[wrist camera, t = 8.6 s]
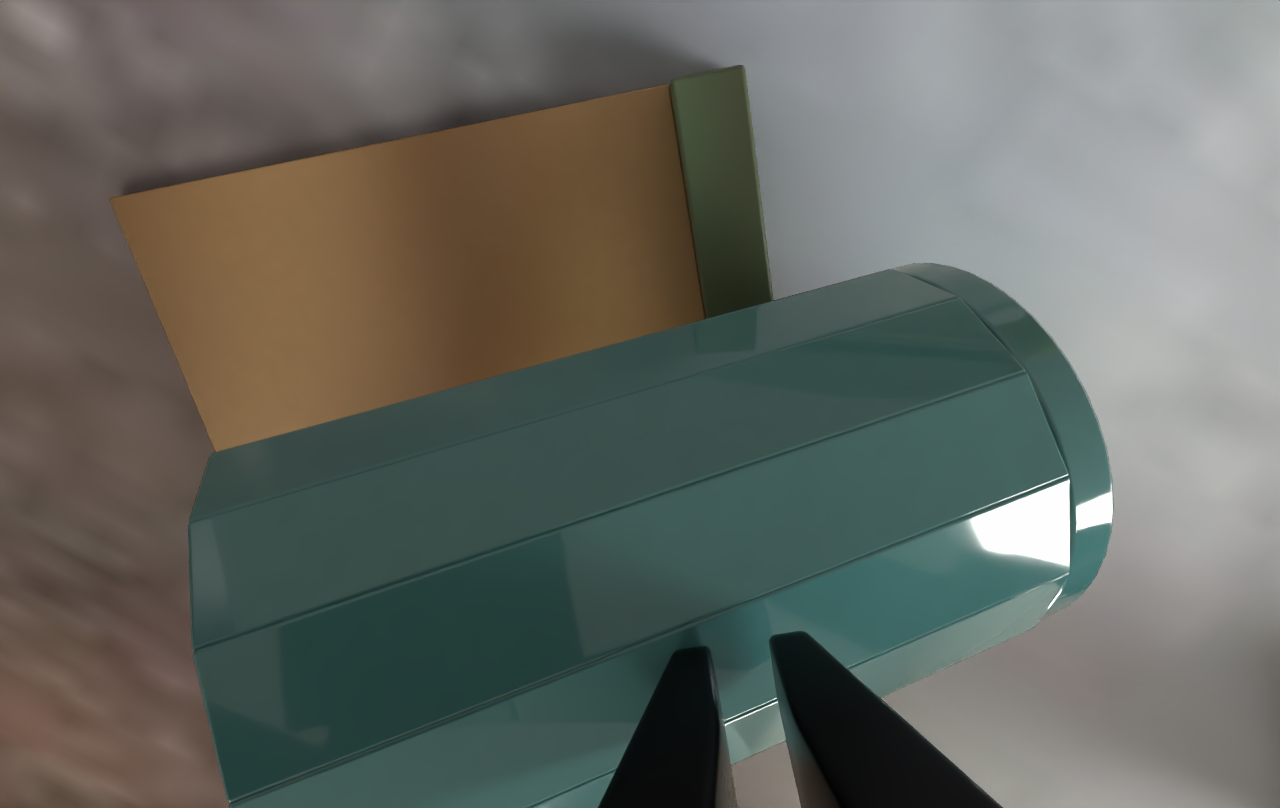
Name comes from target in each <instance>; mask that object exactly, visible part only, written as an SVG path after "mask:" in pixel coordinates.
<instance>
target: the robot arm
mask: <svg viewBox="0 0 1280 808" xmlns="http://www.w3.org/2000/svg"><path fill="white" fill-rule="evenodd" d="M769 648H770V654H771V661H772V668H773V674H774V681H775V687H776V694H777V700H778V705H779V710H780V715H781V719H782V724H783V728H784V733H785V737H786V741H787V746H788V750H789V755H790V759H791V764H792V768H793V772H794V777H795V781H796V786H797V790H798V795H799V799H800V803H801V808H1003V807H1002V806H1000V805H999V804H998V803H997V802H996V801H995V800H994V799H993V798H991V797H990V796H989V795H988V794H987V793H986V792H985V791H984V790H983V789H981V788H980V787H979V786H978V785H977V784H976V783H975V782H974V781H972V780H971V779H970V778H969V777H968V776H967V775H966V774H965V773H964V772H962V771H961V770H960V769H959V768H958V767H957V766H956V765H955V764H953V763H952V762H951V761H950V760H949V759H948V758H947V757H946V756H945V755H943V754H942V753H941V752H940V751H939V750H938V749H937V748H936V747H934V746H933V745H932V744H931V743H930V742H929V741H928V740H927V739H926V738H924V737H923V736H922V735H921V734H920V733H919V732H918V731H917V730H915V729H914V728H913V727H912V726H911V725H910V724H909V723H908V722H907V721H905V720H904V719H903V718H902V717H901V716H900V715H899V714H898V713H896V712H895V711H894V710H893V709H892V708H891V707H890V706H889V705H888V704H886V703H885V702H884V701H883V700H882V699H881V698H880V697H879V696H877V695H876V694H875V693H874V692H873V691H872V690H871V689H870V688H869V687H867V686H866V685H865V684H864V683H863V682H862V681H861V680H860V679H858V678H857V677H856V676H855V675H854V674H853V673H852V672H851V671H850V670H848V669H847V668H846V667H845V666H844V665H843V664H842V663H841V662H839V661H838V660H837V659H836V658H835V657H834V656H833V655H832V654H831V653H829V652H828V651H827V650H826V649H825V648H824V647H823V646H822V645H820V644H819V643H818V642H817V641H816V640H815V639H814V638H813V637H812V636H810V635H809V634H808V633H807V632H804V631H795V632H789V633H782V634H776V635H772V636H771V637H770V640H769ZM598 808H738V806H737V800H736V794H735V787H734V781H733V775H732V769H731V763H730V756H729V750H728V744H727V738H726V731H725V725H724V719H723V713H722V707H721V702H720V696H719V691H718V686H717V680H716V675H715V670H714V664H713V659H712V654H711V651H710V649H709V648H708V647H707V646H698V647H692V648H685V649H679V650H676V651H675V652H674V653H673V654H672V655H671V657H670V659H669V662H668V664H667V666H666V668H665V670H664V672H663V674H662V676H661V678H660V680H659V682H658V684H657V686H656V688H655V690H654V693H653V695H652V697H651V699H650V701H649V703H648V705H647V707H646V709H645V711H644V713H643V715H642V717H641V719H640V721H639V724H638V726H637V728H636V730H635V732H634V734H633V736H632V738H631V740H630V742H629V744H628V746H627V748H626V750H625V752H624V755H623V757H622V759H621V761H620V763H619V765H618V767H617V769H616V771H615V773H614V775H613V777H612V779H611V781H610V784H609V786H608V788H607V790H606V792H605V794H604V796H603V798H602V800H601V802H600V804H599V806H598Z"/></svg>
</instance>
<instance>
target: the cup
mask: <svg viewBox="0 0 1280 808" xmlns="http://www.w3.org/2000/svg"><path fill="white" fill-rule="evenodd" d="M1113 509H1114V502H1113V483H1112V474H1111V469H1110V463H1109V458H1108V452H1107V448H1106V444H1105V441H1104V438H1103V435H1102V431H1101V428H1100V425H1099V421H1098V418H1097V416H1096V414H1095V411H1094V409H1093V407H1092V404H1091V402H1090V400H1089V397H1088V395H1087V393H1086V390H1085V389H1084V387H1083V385H1082V383H1081V381H1080V380H1079V378H1078V376H1077V374H1076V373H1075V371H1074V369H1073V367H1072V365H1071V364H1070V362H1069V361H1068V359H1067V358H1066V356H1065V355H1064V354H1063V352H1062V351H1061V349H1060V348H1059V347H1058V345H1057V344H1056V342H1055V341H1054V339H1053V338H1052V337H1051V336H1050V335H1049V334H1048V332H1047V331H1046V330H1045V329H1044V328H1043V327H1042V326H1041V325H1040V323H1039V322H1038V321H1037V320H1036V319H1035V318H1034V317H1033V316H1032V315H1031V314H1030V313H1029V312H1028V311H1027V310H1026V309H1025V308H1023V307H1022V306H1021V305H1020V304H1019V303H1018V302H1017V301H1016V300H1015V299H1013V298H1012V297H1011V296H1009V295H1008V294H1006V293H1005V292H1003V291H1002V290H1001V289H999V288H998V287H996V286H995V285H993V284H992V283H990V282H988V281H986V280H984V279H982V278H980V277H978V276H976V275H974V274H972V273H970V272H967V271H964V270H961V269H958V268H955V267H951V266H946V265H940V264H934V263H913V264H909V265H904V266H900V267H896V268H892V269H888V270H884V271H880V272H877V273H873V274H869V275H866V276H862V277H858V278H855V279H851V280H847V281H843V282H840V283H836V284H832V285H829V286H825V287H821V288H818V289H814V290H810V291H807V292H803V293H799V294H796V295H792V296H788V297H785V298H781V299H777V300H774V301H770V302H766V303H762V304H759V305H755V306H751V307H748V308H744V309H740V310H737V311H733V312H729V313H726V314H722V315H718V316H715V317H711V318H707V319H704V320H700V321H696V322H693V323H689V324H685V325H681V326H678V327H674V328H670V329H667V330H663V331H659V332H656V333H652V334H648V335H645V336H641V337H637V338H634V339H630V340H626V341H623V342H619V343H615V344H612V345H608V346H604V347H601V348H597V349H593V350H589V351H586V352H582V353H578V354H575V355H571V356H567V357H564V358H560V359H556V360H553V361H549V362H545V363H542V364H538V365H534V366H531V367H527V368H523V369H520V370H516V371H512V372H508V373H505V374H501V375H497V376H494V377H490V378H486V379H483V380H479V381H475V382H472V383H468V384H464V385H461V386H457V387H453V388H450V389H446V390H442V391H439V392H435V393H431V394H427V395H424V396H420V397H416V398H413V399H409V400H405V401H402V402H398V403H394V404H391V405H387V406H383V407H380V408H376V409H372V410H369V411H365V412H361V413H358V414H354V415H350V416H346V417H343V418H339V419H335V420H332V421H328V422H324V423H321V424H317V425H313V426H310V427H306V428H302V429H299V430H295V431H291V432H288V433H284V434H280V435H277V436H273V437H269V438H265V439H262V440H258V441H254V442H251V443H247V444H243V445H240V446H236V447H232V448H229V449H225V450H221V451H218V452H214V453H212V454H211V456H210V457H209V459H208V462H207V465H206V468H205V471H204V474H203V477H202V481H201V484H200V487H199V490H198V493H197V496H196V499H195V502H194V505H193V508H192V511H191V514H190V517H189V525H188V539H189V573H190V606H191V640H192V650H193V651H194V652H193V659H194V663H195V668H196V672H197V676H198V680H199V685H200V689H201V693H202V697H203V701H204V706H205V710H206V714H207V718H208V723H209V727H210V731H211V735H212V739H213V744H214V748H215V752H216V756H217V761H218V765H219V769H220V773H221V777H222V782H223V786H224V790H225V794H226V799H227V801H228V802H230V803H229V807H230V808H598V806H599V804H600V802H601V800H602V798H603V796H604V794H605V792H606V790H607V788H608V786H609V784H610V781H611V779H612V777H613V775H614V773H615V771H616V769H617V767H618V765H619V763H620V761H621V759H622V757H623V755H624V752H625V750H626V748H627V746H628V744H629V742H630V740H631V738H632V736H633V734H634V732H635V730H636V728H637V726H638V724H639V721H640V719H641V717H642V715H643V713H644V711H645V709H646V707H647V705H648V703H649V701H650V699H651V697H652V695H653V693H654V690H655V688H656V686H657V684H658V682H659V680H660V678H661V676H662V674H663V672H664V670H665V668H666V666H667V664H668V662H669V659H670V657H671V655H672V654H673V653H674V652H675V651H676V650H679V649H685V648H692V647H698V646H707V647H708V648H709V649H710V651H711V654H712V659H713V664H714V670H715V675H716V680H717V686H718V691H719V696H720V702H721V707H722V713H723V719H724V725H725V731H726V738H727V744H728V750H729V756H730V763H731V765H733V764H735V763H737V762H740V761H742V760H744V759H746V758H749V757H751V756H753V755H755V754H757V753H760V752H762V751H764V750H766V749H768V748H771V747H773V746H775V745H777V744H779V743H782V742H784V741H786V737H785V733H784V728H783V724H782V719H781V715H780V710H779V705H778V700H777V694H776V687H775V681H774V674H773V668H772V661H771V654H770V648H769V640H770V637H771V636H772V635H776V634H782V633H789V632H795V631H804V632H807V633H808V634H809V635H810V636H812V637H813V638H814V639H815V640H816V641H817V642H818V643H819V644H820V645H822V646H823V647H824V648H825V649H826V650H827V651H828V652H829V653H831V654H832V655H833V656H834V657H835V658H836V659H837V660H838V661H839V662H841V663H842V664H843V665H844V666H845V667H846V668H847V669H848V670H850V671H851V672H852V673H853V674H854V675H855V676H856V677H857V678H858V679H860V680H861V681H862V682H863V683H864V684H865V685H866V686H867V687H869V688H870V689H871V690H872V691H873V692H874V693H875V694H876V695H877V696H879V697H880V698H881V697H883V696H885V695H887V694H890V693H892V692H894V691H896V690H898V689H901V688H903V687H905V686H907V685H909V684H912V683H914V682H916V681H918V680H920V679H923V678H925V677H927V676H929V675H931V674H934V673H936V672H938V671H940V670H943V669H945V668H947V667H949V666H951V665H954V664H956V663H958V662H960V661H962V660H965V659H967V658H969V657H971V656H973V655H976V654H978V653H980V652H982V651H984V650H987V649H989V648H991V647H993V646H995V645H998V644H1000V643H1002V642H1004V641H1006V640H1009V639H1011V638H1013V637H1015V636H1017V635H1020V634H1022V633H1024V632H1026V631H1029V630H1031V629H1032V628H1034V626H1035V625H1036V623H1037V622H1038V621H1039V620H1041V619H1043V618H1045V617H1048V616H1050V615H1052V614H1054V613H1056V612H1058V611H1060V610H1062V609H1064V608H1066V607H1068V606H1070V605H1071V604H1072V603H1073V602H1074V601H1075V600H1077V599H1078V598H1079V597H1080V596H1081V595H1082V594H1083V593H1084V592H1085V591H1086V589H1087V588H1088V587H1089V585H1090V584H1091V582H1092V581H1093V580H1094V578H1095V577H1096V575H1097V573H1098V571H1099V569H1100V567H1101V565H1102V562H1103V560H1104V558H1105V556H1106V552H1107V548H1108V544H1109V540H1110V536H1111V532H1112V521H1113Z"/></svg>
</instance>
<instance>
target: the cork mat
mask: <svg viewBox="0 0 1280 808" xmlns="http://www.w3.org/2000/svg"><path fill="white" fill-rule="evenodd" d="M110 202H111V204H112V207H113V209H114V212H115V214H116V216H117V219H118V221H119V223H120V226H121V228H122V231H123V233H124V235H125V238H126V240H127V242H128V245H129V247H130V250H131V252H132V254H133V257H134V259H135V261H136V264H137V266H138V269H139V271H140V273H141V276H142V278H143V280H144V283H145V285H146V288H147V290H148V292H149V295H150V297H151V299H152V302H153V304H154V307H155V309H156V311H157V314H158V316H159V318H160V321H161V323H162V326H163V328H164V330H165V333H166V335H167V337H168V340H169V342H170V345H171V347H172V349H173V352H174V354H175V356H176V359H177V361H178V364H179V366H180V368H181V371H182V373H183V376H184V378H185V380H186V383H187V385H188V387H189V390H190V392H191V395H192V397H193V399H194V402H195V404H196V406H197V409H198V411H199V414H200V416H201V418H202V421H203V423H204V425H205V428H206V430H207V433H208V435H209V437H210V440H211V442H212V444H213V447H214V449H215V452H218V451H221V450H225V449H229V448H232V447H236V446H240V445H243V444H247V443H251V442H254V441H258V440H262V439H265V438H269V437H273V436H277V435H280V434H284V433H288V432H291V431H295V430H299V429H302V428H306V427H310V426H313V425H317V424H321V423H324V422H328V421H332V420H335V419H339V418H343V417H346V416H350V415H354V414H358V413H361V412H365V411H369V410H372V409H376V408H380V407H383V406H387V405H391V404H394V403H398V402H402V401H405V400H409V399H413V398H416V397H420V396H424V395H427V394H431V393H435V392H439V391H442V390H446V389H450V388H453V387H457V386H461V385H464V384H468V383H472V382H475V381H479V380H483V379H486V378H490V377H494V376H497V375H501V374H505V373H508V372H512V371H516V370H520V369H523V368H527V367H531V366H534V365H538V364H542V363H545V362H549V361H553V360H556V359H560V358H564V357H567V356H571V355H575V354H578V353H582V352H586V351H589V350H593V349H597V348H601V347H604V346H608V345H612V344H615V343H619V342H623V341H626V340H630V339H634V338H637V337H641V336H645V335H648V334H652V333H656V332H659V331H663V330H667V329H670V328H674V327H678V326H681V325H685V324H689V323H693V322H696V321H700V320H704V319H707V318H711V317H715V316H718V315H722V314H726V313H729V312H733V311H737V310H740V309H744V308H748V307H751V306H755V305H759V304H762V303H766V302H770V301H773V293H772V285H771V277H770V268H769V260H768V252H767V244H766V236H765V227H764V219H763V211H762V203H761V195H760V186H759V178H758V170H757V162H756V154H755V145H754V137H753V129H752V121H751V113H750V104H749V96H748V88H747V80H746V72H745V68H744V66H743V65H737V66H732V67H727V68H722V69H717V70H712V71H707V72H702V73H697V74H693V75H688V76H683V77H678V78H674V79H672V80H671V84H670V88H669V85H668V84H665V85H660V86H655V87H651V88H646V89H641V90H636V91H631V92H626V93H621V94H616V95H611V96H606V97H602V98H597V99H592V100H587V101H582V102H577V103H572V104H567V105H562V106H558V107H553V108H548V109H543V110H538V111H533V112H528V113H523V114H518V115H513V116H509V117H504V118H499V119H494V120H489V121H484V122H479V123H474V124H469V125H465V126H460V127H455V128H450V129H445V130H440V131H435V132H430V133H425V134H420V135H416V136H411V137H406V138H401V139H396V140H391V141H386V142H381V143H376V144H372V145H367V146H362V147H357V148H352V149H347V150H342V151H337V152H332V153H327V154H323V155H318V156H313V157H308V158H303V159H298V160H293V161H288V162H283V163H279V164H274V165H269V166H264V167H259V168H254V169H249V170H244V171H239V172H234V173H230V174H225V175H220V176H215V177H210V178H205V179H200V180H195V181H190V182H186V183H181V184H176V185H171V186H166V187H161V188H156V189H151V190H146V191H141V192H137V193H132V194H127V195H122V196H117V197H112V198H110Z"/></svg>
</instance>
